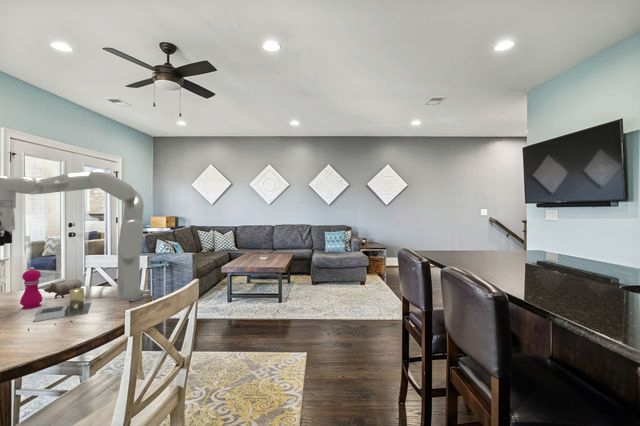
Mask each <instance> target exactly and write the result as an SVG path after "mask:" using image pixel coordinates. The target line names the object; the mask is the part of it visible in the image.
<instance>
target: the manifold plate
mask: <svg viewBox="0 0 640 426" xmlns="http://www.w3.org/2000/svg"><path fill="white" fill-rule="evenodd" d="M91 305H92V302H84V306H83V307H80V308H74V309H71V308H70V304H69V305H68V304H66V305H60V306H52V307H51V306H50V307H44V308H39V310H37V312H36V313H35V314H34V320H33V321H32V323H38V322H43V321H51V320H57V319H64V318H70V317H77V316H83V315H88V313H89V311H90V307H91Z"/></svg>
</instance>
